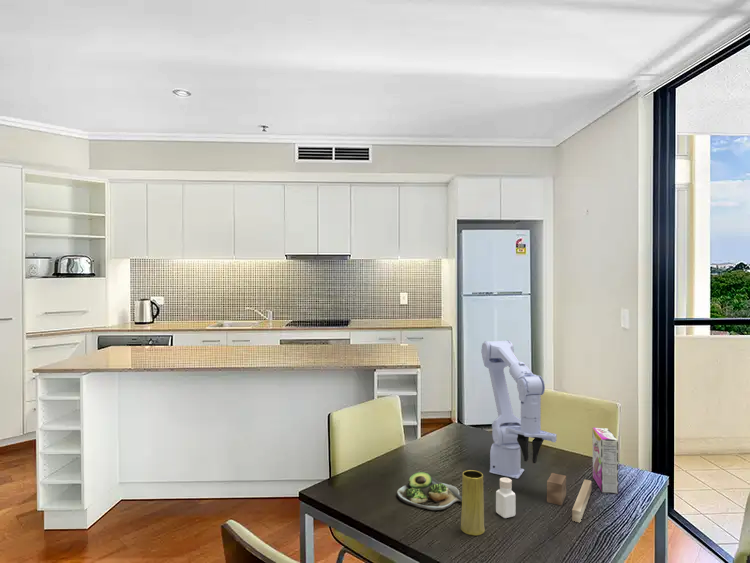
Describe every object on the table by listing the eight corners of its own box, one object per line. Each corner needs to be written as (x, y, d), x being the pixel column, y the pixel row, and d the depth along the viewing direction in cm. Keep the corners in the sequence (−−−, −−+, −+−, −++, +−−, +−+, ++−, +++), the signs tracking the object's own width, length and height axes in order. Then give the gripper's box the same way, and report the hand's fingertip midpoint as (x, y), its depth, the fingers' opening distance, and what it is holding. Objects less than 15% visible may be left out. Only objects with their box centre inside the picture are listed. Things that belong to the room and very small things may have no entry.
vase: (457, 523, 123) (458, 469, 122) (480, 522, 123) (480, 468, 123) (464, 536, 116) (464, 479, 116) (488, 535, 117) (488, 478, 117)
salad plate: (476, 495, 139) (476, 480, 139) (449, 520, 125) (449, 503, 125) (420, 479, 151) (420, 464, 151) (389, 500, 136) (389, 484, 136)
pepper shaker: (495, 512, 128) (495, 478, 128) (506, 509, 130) (506, 475, 130) (504, 519, 125) (504, 484, 125) (516, 516, 126) (516, 481, 126)
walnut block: (546, 502, 135) (546, 481, 135) (551, 492, 140) (551, 472, 140) (561, 505, 132) (561, 484, 132) (566, 495, 138) (566, 475, 138)
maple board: (572, 520, 124) (572, 509, 124) (584, 489, 143) (584, 479, 143) (580, 523, 123) (580, 511, 123) (591, 490, 142) (591, 480, 142)
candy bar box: (591, 477, 151) (591, 426, 151) (608, 478, 150) (608, 427, 150) (600, 493, 140) (601, 438, 140) (618, 494, 139) (619, 439, 139)
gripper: (502, 415, 141) (502, 460, 141) (553, 423, 133) (553, 471, 133) (509, 410, 147) (509, 453, 147) (558, 417, 139) (557, 462, 139)
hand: (530, 461), depth 140 cm, fingers closed
